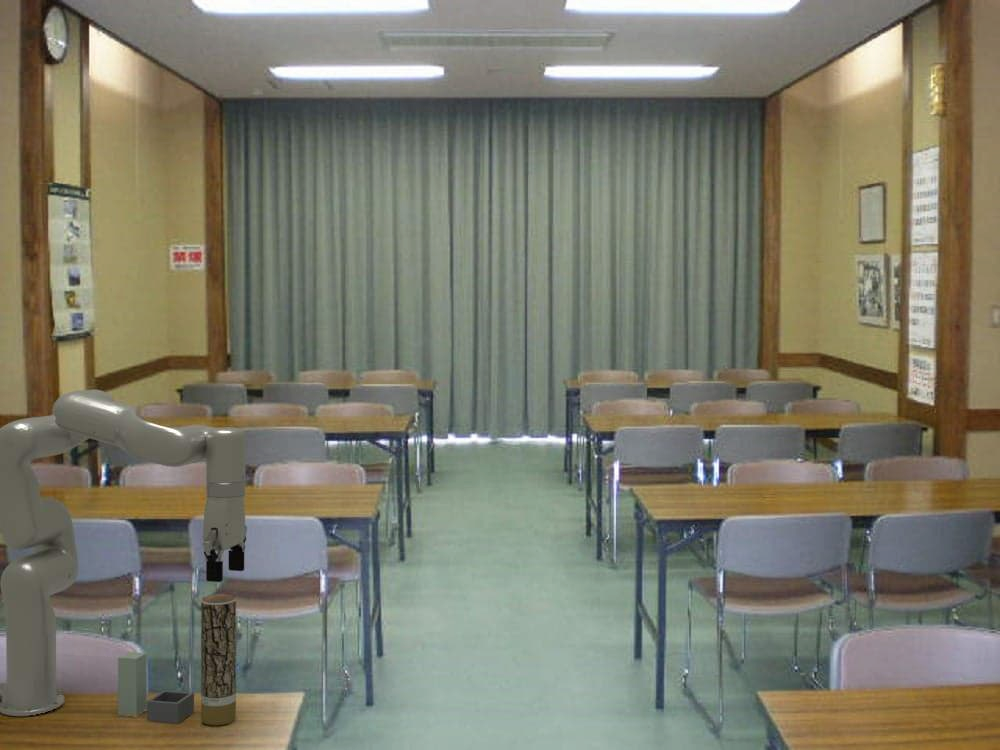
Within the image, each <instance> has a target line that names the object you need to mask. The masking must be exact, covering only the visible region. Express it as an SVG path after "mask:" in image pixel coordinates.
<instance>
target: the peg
mask: <svg viewBox="0 0 1000 750" xmlns="http://www.w3.org/2000/svg"><path fill="white" fill-rule="evenodd" d="M117 684H118V685H117V688H118V693H117V696H118V699H117V706H118V709H117V710H118V715H130V716H137V715H139V714H140V713H141V712H143V711H144V710H145V709H146V710H147V652H135V651H128V652H126V653H123V654H122V655H120V656H118V657H117ZM139 716H140V715H139Z"/></svg>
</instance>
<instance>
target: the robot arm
mask: <svg viewBox="0 0 1000 750" xmlns="http://www.w3.org/2000/svg"><path fill="white" fill-rule="evenodd" d="M89 439H91V440H95V441H99V442H103V443H106V444H108V445H112V446H115V447H119V448H120V449H121V450H123V452H126V453H127V454H129V455H131V456H132V457H135V458H138V459H140V460H143V461H145V462H150V463H152V464H153V463H154V464H157V465H161V466H163V467H164V466H165V467H170V468H171V467H172V468H180V467H184V466H187V465H192V464H196V463H201V462H205V461H206V462H205V463H206V465H205V467H206V470H205V471H206V474H205V477H206V480H205V484H206V485H205V487H206V489H205V490H206V493H205V494H206V496H205V497H206V501H205V508H204V512H203V513H204V514H203V515H204V516H203V527H202V528H203V529H202V547H203V550H204V551H203V554H204V556H205V558H204V560H205V565H206V569H205V571H206V575H205V577H206V579H205V580H206V582H211V583H212V582H214V583H221V582H223V580H224V571H223V570H224V567H223V566H224V563H223V562H224V561H223V560H222V557H223V554H224V552H225V551H226V550H228V549H229V550H228V570H229V571H233V572H235V571H236V572H243V571H245V550H246V545H245V544H246V542H247V531H248V527H247V525H246V512H245V501H244V499H245V498H246V433H245V431H244V430H243V429H241V428H240V427H229V426H228V427H224V426H223V427H213V426H208V425H203V424H192V425H191V424H190V425H185V426H179V427H178V426H177V427H175V428H173V427H168V426H164V425H160V424H156V423H153V422H150V421H147V420H144V419H143V418H141V414H140V413H139V410H138V409H137V408H136V407H135V406H133V405H130V404H125V403H122V402H118V401H115V400H114V398H113V397H112V396H111V395H110V394H109V393H108V392H106V391H104V390H102V389H101V390H100V389H85V390H74V391H69V392H67V393H64V394H62V395H61V396H59V397H58V398H57V400H55V402H54V404H53V406H52V413H51V415H45V416H35V417H28V418H27V417H26V418H23V419H17V420H14V421H10V422H9V423H7V424H5V425H3V426H1V427H0V534H1V539H2V541H3V543H4V544H5V546H7V547H8V548H10V549H11V550H18V551H20V550H21V551H22V550H26V549H31V548H33V549H34V552H33V553H29V554H26V555H23V556H21V557H19V558H18V557H17V558H16V559H14V560H13V561H12V562H10V563H9V564H7V566H6V567H5V569H4V570H3V572H2V574H1V576H0V577H1V578H0V589H1V596H2V601H3V605H4V612H5V614H4V615H5V635H6V638H5V641H6V644H5V645H6V650H5V651H6V654H5V655H6V656H5V658H6V659H5V660H6V683H5V682H4V683H3V682H0V696H1V701H0V713H1V714H2V715H5V716H9V717H10V716H11V717H30V716H29V715H33V716H37V715H36V714H39V715H41V714H40V713H44V714H46V713H45V712H47V711H50V710H53V709H55V708H57V707H58V706H60V705H61V704H62V703H63V702H64V703H65V696H64V695H63V694H62V693H60V692H57V620H56V613H55V610H54V607H53V605H52V602H51V600H50V596H52V595H55V594H57V593H59V592H62V591H64V590H66V589H68V588H70V587H71V586H72V585H74V583H75V581H76V579H77V577H78V574H79V557H78V552H77V551H78V550H77V545H76V539H75V537H76V536H75V532H74V524H73V520H72V516H71V514H70V512H69V509H68V508H67V506H66V505H65V504H64V503H63V502H62V501H60V500H59V499H56V498H54V497H50V496H49V497H42V496H41V491H40V483H39V480H38V477H37V474H36V472H35V471H34V469H33V468H32V466H31V465H30V462H31V461H32V460H36V459H40V458H42V459H43V458H47V457H48V458H49V457H52V456H58V455H61V454H64V453H66V452H68V451H71V450H72V449H74V448H76V447H77V446H79V445H81V444H83V443H84V442H85V441H86V442H87V440H89Z"/></svg>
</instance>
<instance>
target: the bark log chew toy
mask: <svg viewBox="0 0 1000 750" xmlns="http://www.w3.org/2000/svg"><path fill="white" fill-rule="evenodd" d="M200 605H201V606H200V607H201V609H200V614H201V615H200V618H201V619H200V620H201V621H200V625H201V626H200V627H201V628H200V629H201V630H200V633H201V635H200V643H201V644H200V648H201V649H200V650H201V651H200V655H201V658H200V663H201V664H200V689H201V690H200V692H201V693H200V703H201V705H200V706H201V708H200V709H201V711H200V713H201V714H200V718H201V721H202V723H203V724H205V725H207V726H214V727H215V726H218V727H219V726H223V725H228V724H231V723H233V722H234V721H235V720H236V716H237V597H236V596H235V595H234V594H229V593H215V594H208V595H205V596H202V597H201V602H200Z"/></svg>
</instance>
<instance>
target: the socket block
mask: <svg viewBox="0 0 1000 750" xmlns="http://www.w3.org/2000/svg"><path fill="white" fill-rule="evenodd" d="M193 711H194V712H195V693H194V692H189V691H175V690H164V689H163V690H162V691H160V692H159V693H157V694H156V695H154V696H152V697H151V698H149V699H148V700H146V721H147V720H149V721H148V722H154V721H159V722H158V723H164V722H167V724H175V725H176V724H177V725H178V724H180V723H181V722H183V721H184V720H185V719H186V718H185V717H187V716H188V715H189V714H191V713H192V712H193ZM194 712H193V713H194ZM193 713H192V714H193ZM192 714H191V715H192ZM189 716H190V715H189ZM189 716H188V717H189ZM188 717H187V718H188ZM183 719H184V720H183ZM179 722H180V723H179Z"/></svg>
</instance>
